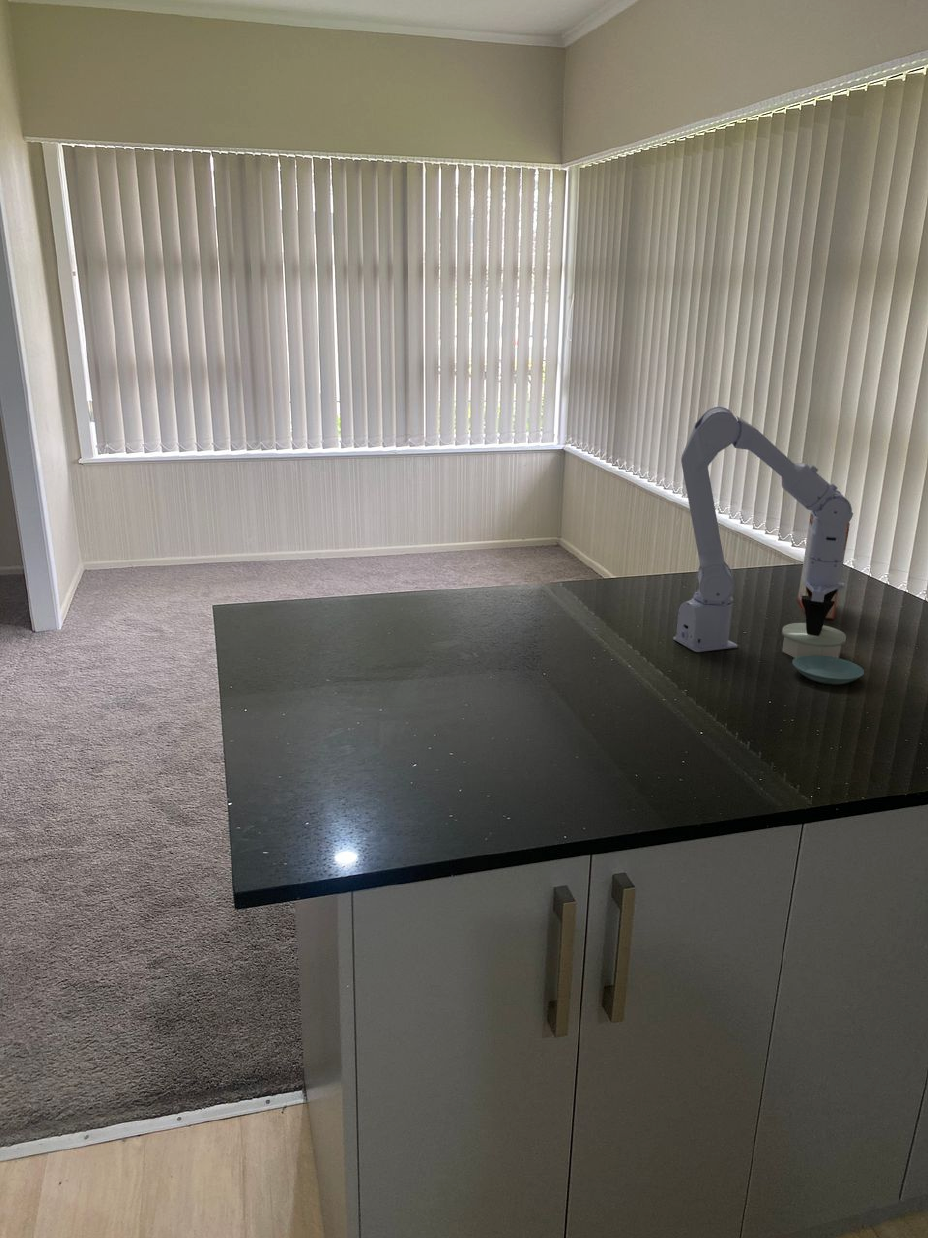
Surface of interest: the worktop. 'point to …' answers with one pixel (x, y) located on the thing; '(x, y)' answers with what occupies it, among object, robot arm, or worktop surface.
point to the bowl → (809, 649)
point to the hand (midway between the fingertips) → (814, 628)
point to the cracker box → (802, 587)
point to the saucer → (827, 669)
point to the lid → (825, 638)
